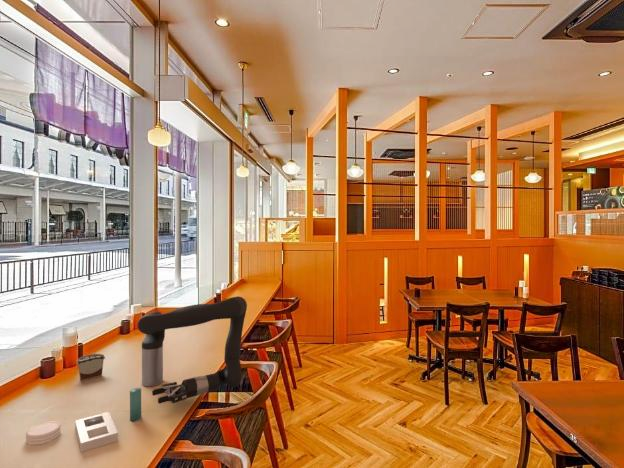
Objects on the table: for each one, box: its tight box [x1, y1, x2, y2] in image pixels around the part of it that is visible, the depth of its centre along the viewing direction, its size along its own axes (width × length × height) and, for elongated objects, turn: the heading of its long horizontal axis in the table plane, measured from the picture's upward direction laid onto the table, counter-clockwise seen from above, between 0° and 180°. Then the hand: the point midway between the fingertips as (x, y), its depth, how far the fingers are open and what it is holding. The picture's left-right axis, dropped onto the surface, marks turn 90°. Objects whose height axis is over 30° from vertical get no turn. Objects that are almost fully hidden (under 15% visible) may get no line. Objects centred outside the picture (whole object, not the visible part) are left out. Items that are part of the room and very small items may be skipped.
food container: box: [76, 353, 106, 382], centre depth 188 cm, size 12×6×10 cm, turn 134°
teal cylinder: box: [129, 387, 142, 422], centre depth 147 cm, size 4×4×11 cm
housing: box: [74, 411, 119, 453], centre depth 136 cm, size 18×11×3 cm, turn 37°
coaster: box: [25, 420, 62, 446], centre depth 134 cm, size 10×10×4 cm
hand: (155, 396), depth 152 cm, fingers open, 8 cm apart
